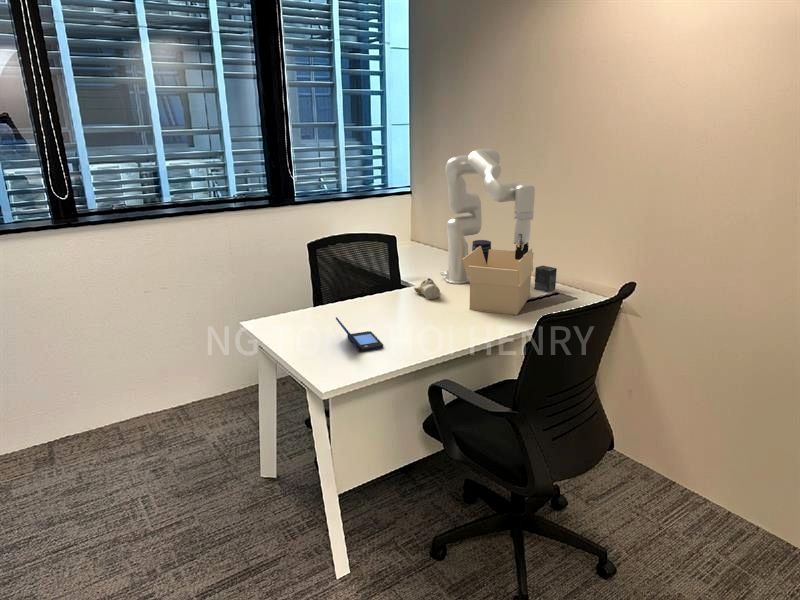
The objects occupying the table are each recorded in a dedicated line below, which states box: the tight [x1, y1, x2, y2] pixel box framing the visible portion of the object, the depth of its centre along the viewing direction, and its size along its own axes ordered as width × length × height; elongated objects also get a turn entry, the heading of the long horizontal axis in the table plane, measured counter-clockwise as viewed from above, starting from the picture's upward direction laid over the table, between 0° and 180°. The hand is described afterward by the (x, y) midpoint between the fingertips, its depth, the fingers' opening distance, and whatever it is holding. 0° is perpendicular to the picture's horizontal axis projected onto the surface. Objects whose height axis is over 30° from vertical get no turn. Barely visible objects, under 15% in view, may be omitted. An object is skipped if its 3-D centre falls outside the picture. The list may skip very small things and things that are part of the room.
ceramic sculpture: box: [413, 277, 441, 300], centre depth 239 cm, size 11×9×15 cm
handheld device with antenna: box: [335, 317, 384, 353], centre depth 189 cm, size 16×13×9 cm
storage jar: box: [471, 239, 492, 264], centre depth 279 cm, size 10×10×15 cm
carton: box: [462, 246, 535, 316], centre depth 227 cm, size 24×32×22 cm
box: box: [534, 265, 558, 293], centre depth 244 cm, size 8×6×11 cm
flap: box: [518, 247, 534, 286], centre depth 220 cm, size 10×25×1 cm
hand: (521, 256), depth 219 cm, fingers open, 9 cm apart
